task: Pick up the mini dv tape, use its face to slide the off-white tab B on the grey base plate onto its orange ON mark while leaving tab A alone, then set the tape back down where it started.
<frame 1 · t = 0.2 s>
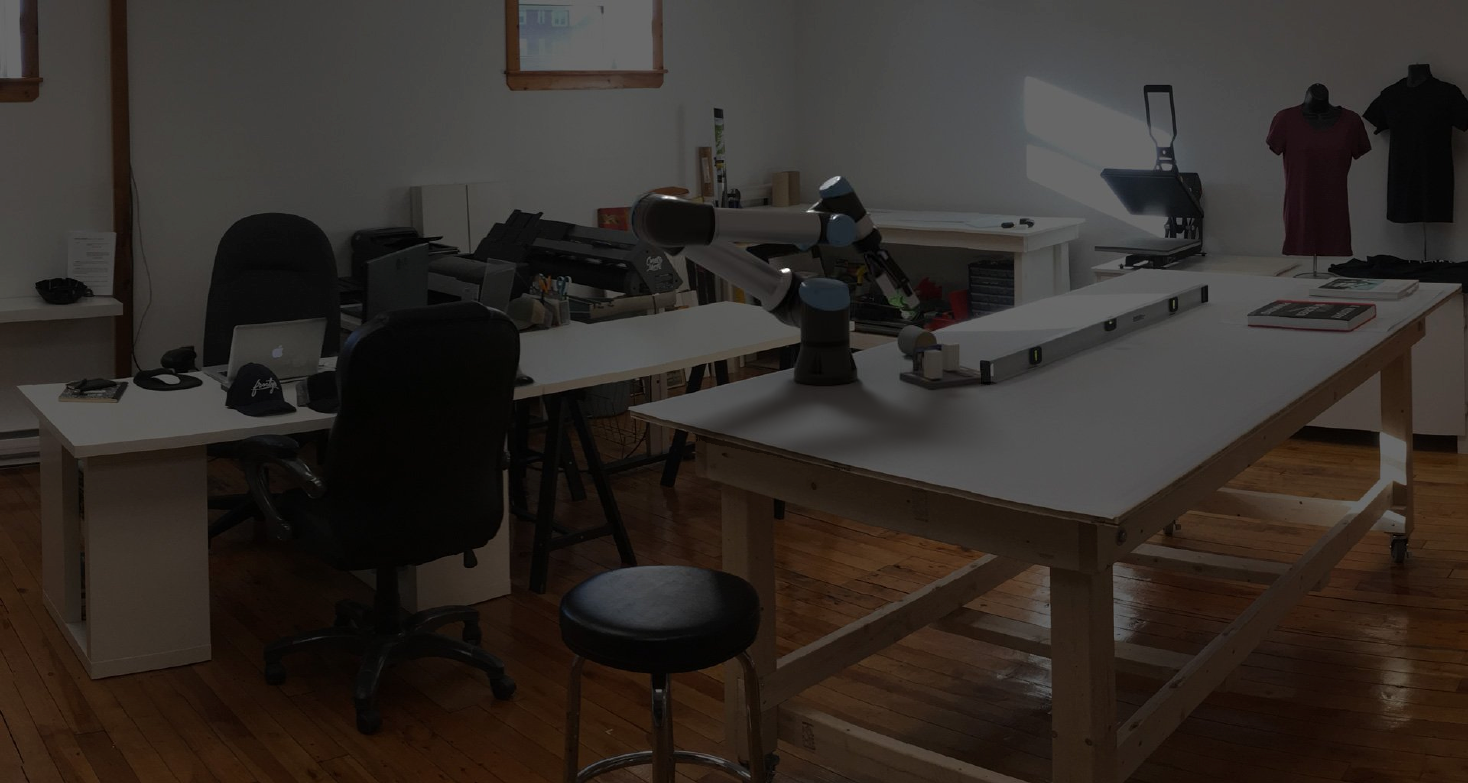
hand: (903, 300, 326), 15 cm above the table, tool tilted 35°, fingers open, 13 cm apart
mini dv tape: (927, 371, 314), on the table
tab a: (933, 364, 295), point 5 cm above the table, slide at 6.0 cm
grey base plate: (946, 380, 301), on the table
ceramic mug: (921, 356, 333), on the table
tab b: (950, 356, 304), point 5 cm above the table, slide at 0.0 cm
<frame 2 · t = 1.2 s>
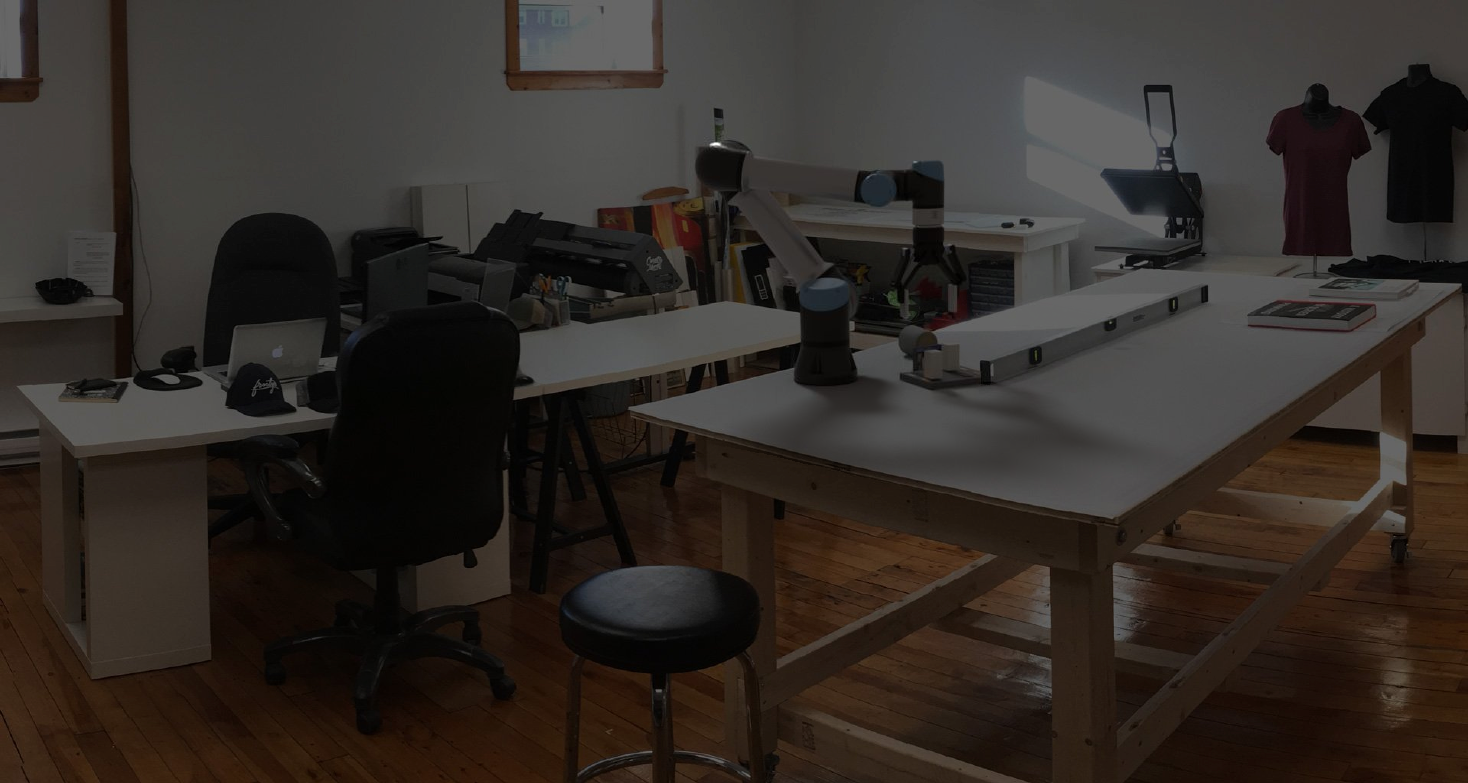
hand: (928, 314, 311), 14 cm above the table, tool pointing down, fingers open, 13 cm apart
nothing on the table moved.
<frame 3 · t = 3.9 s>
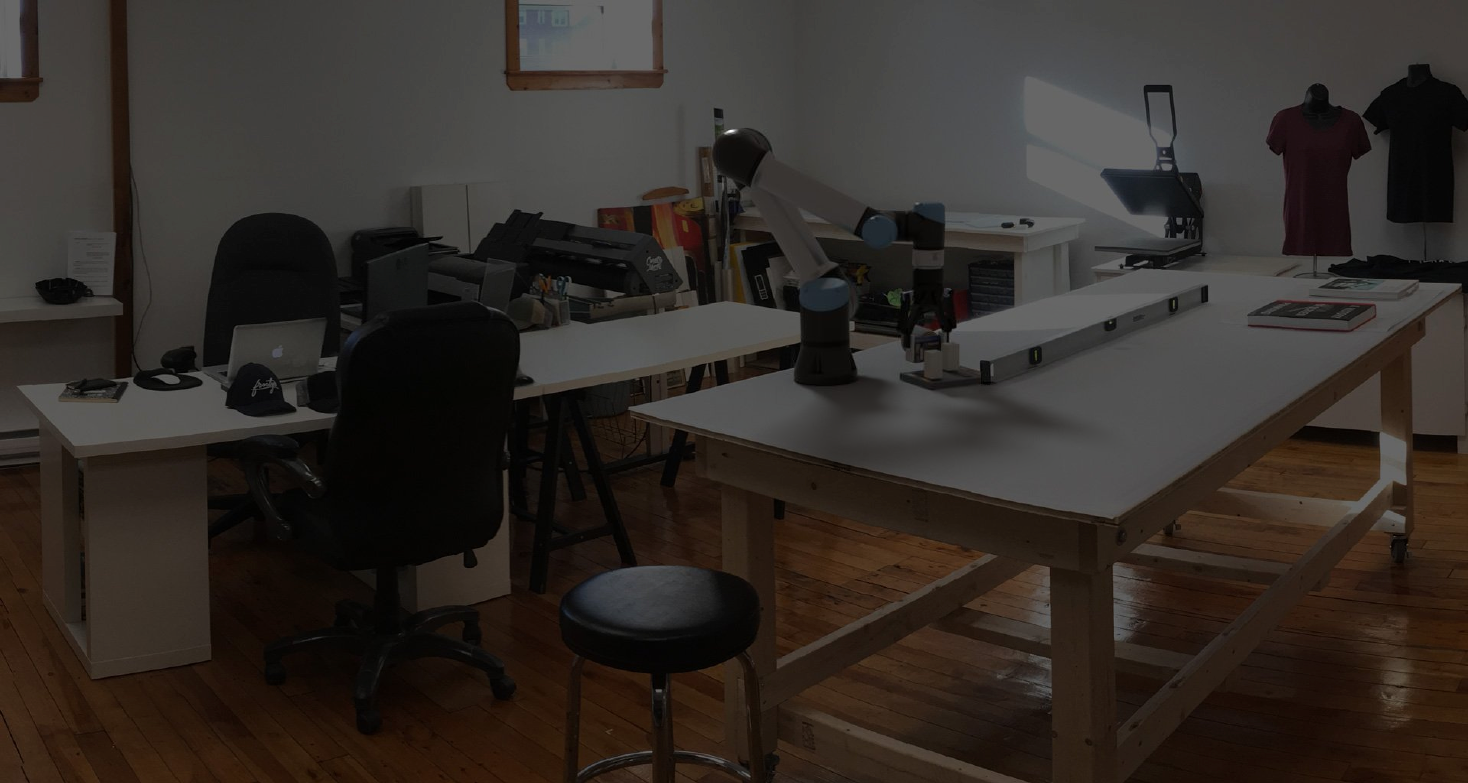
hand: (925, 359, 314), 3 cm above the table, tool pointing down, fingers closed on mini dv tape, 8 cm apart
mini dv tape: (925, 361, 314), point 2 cm above the table, touching gripper
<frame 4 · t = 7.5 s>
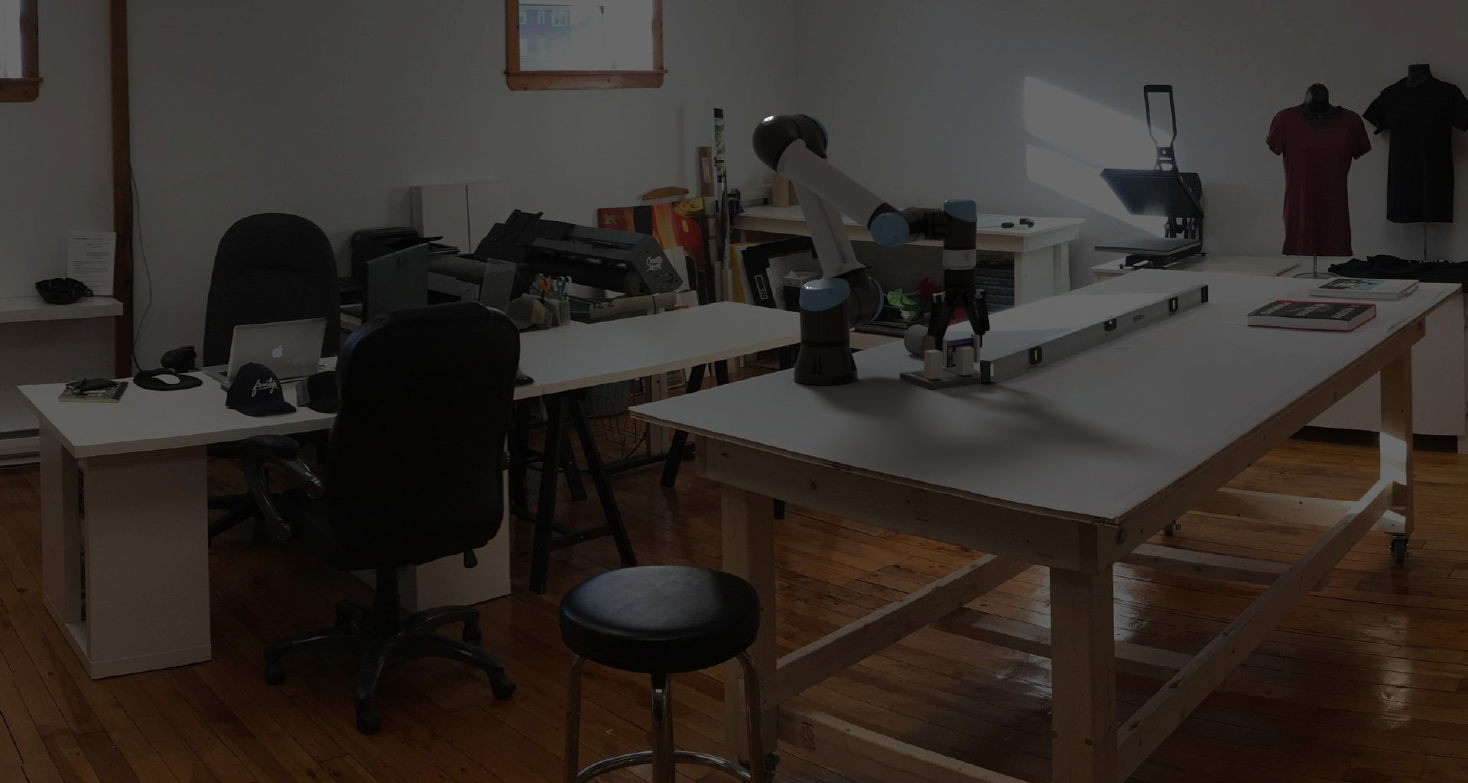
hand: (958, 363, 301), 4 cm above the table, tool pointing down, fingers closed on mini dv tape, 8 cm apart
mini dv tape: (958, 366, 301), point 3 cm above the table, touching gripper
tab b: (964, 360, 299), point 5 cm above the table, slide at 6.0 cm
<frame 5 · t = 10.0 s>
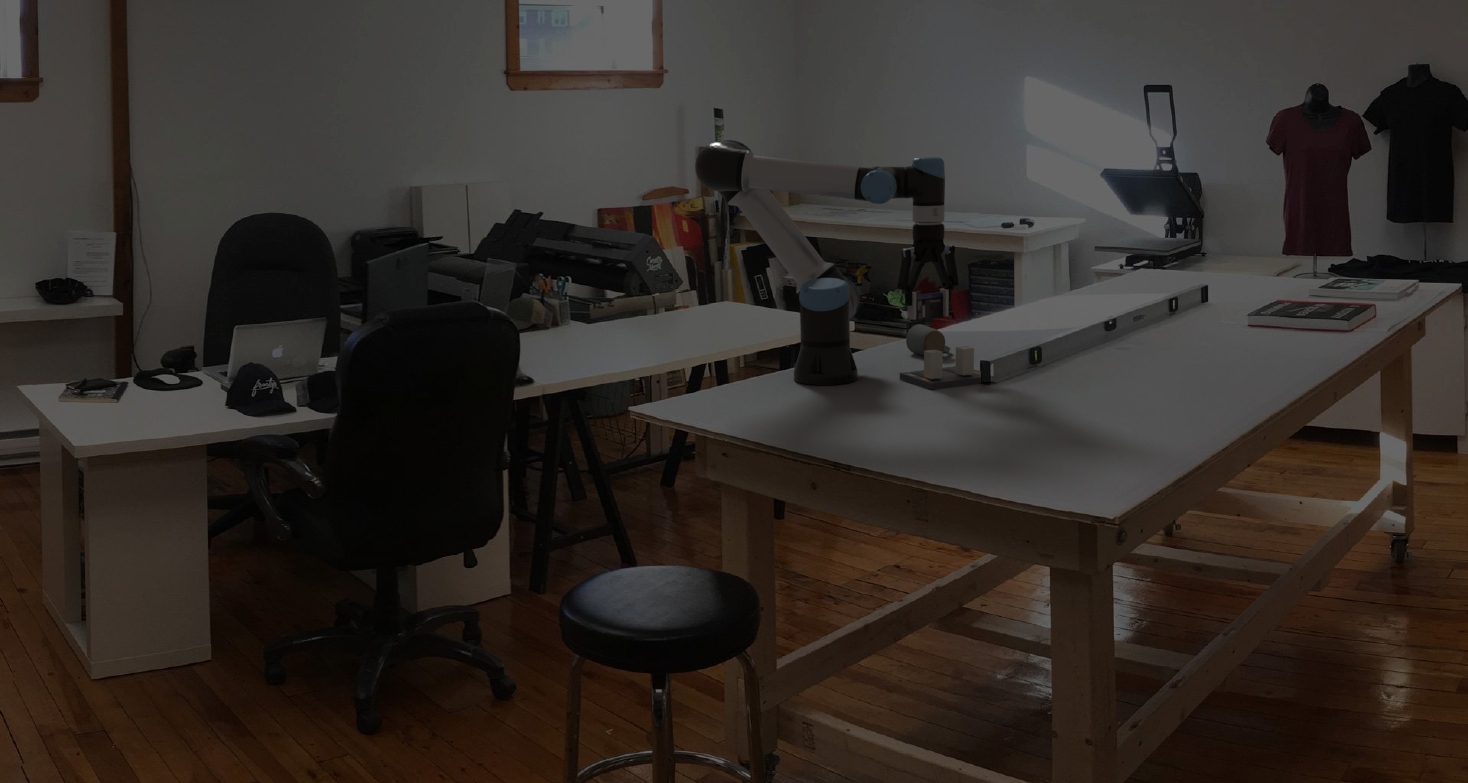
hand: (928, 317, 311), 13 cm above the table, tool pointing down, fingers closed on mini dv tape, 8 cm apart
mini dv tape: (928, 319, 311), point 12 cm above the table, touching gripper
when the fingers open (0 cm above the table, at t = 12.3 s): mini dv tape stays where it is, on the table.
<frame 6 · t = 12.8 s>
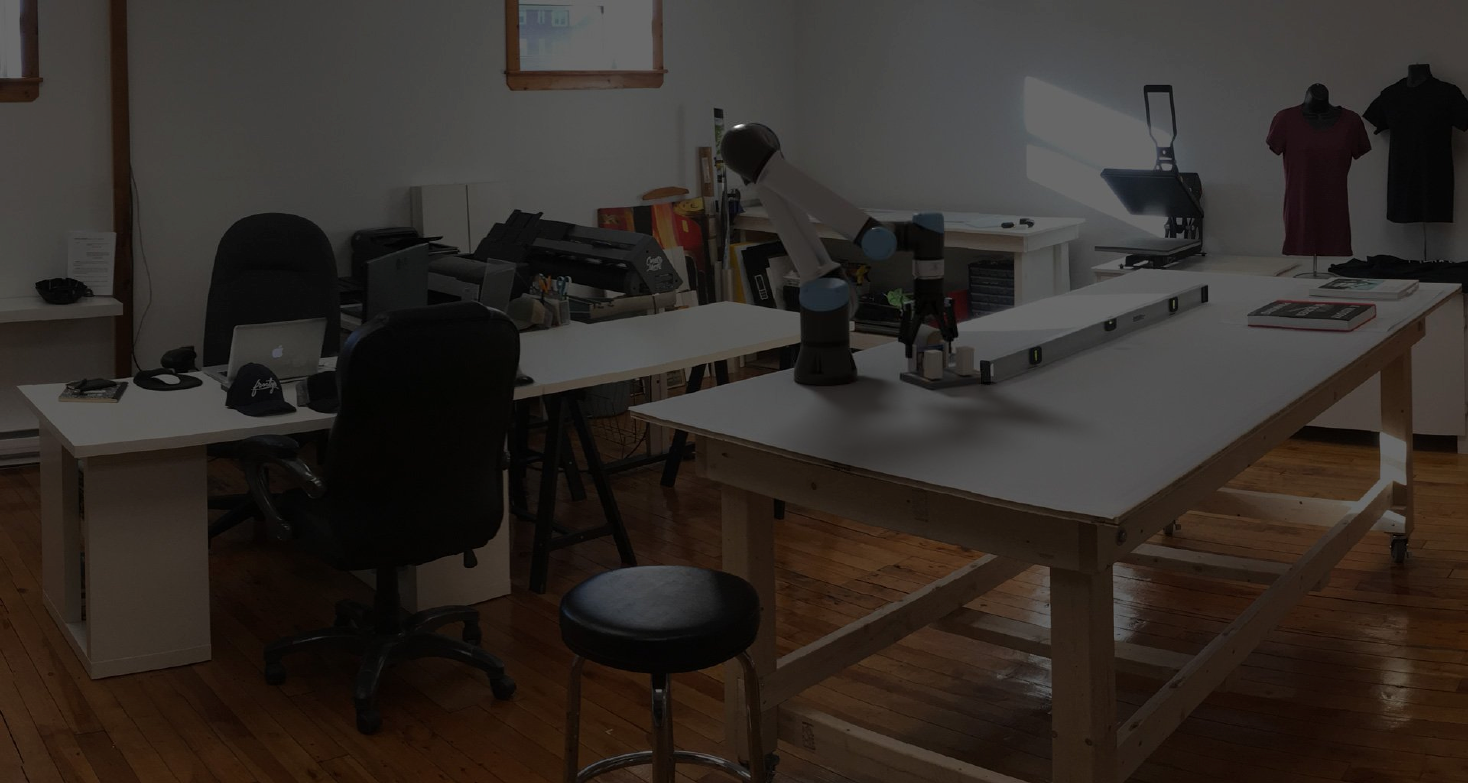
hand: (928, 369, 314), 0 cm above the table, tool pointing down, fingers open, 8 cm apart
mini dv tape: (928, 371, 314), on the table
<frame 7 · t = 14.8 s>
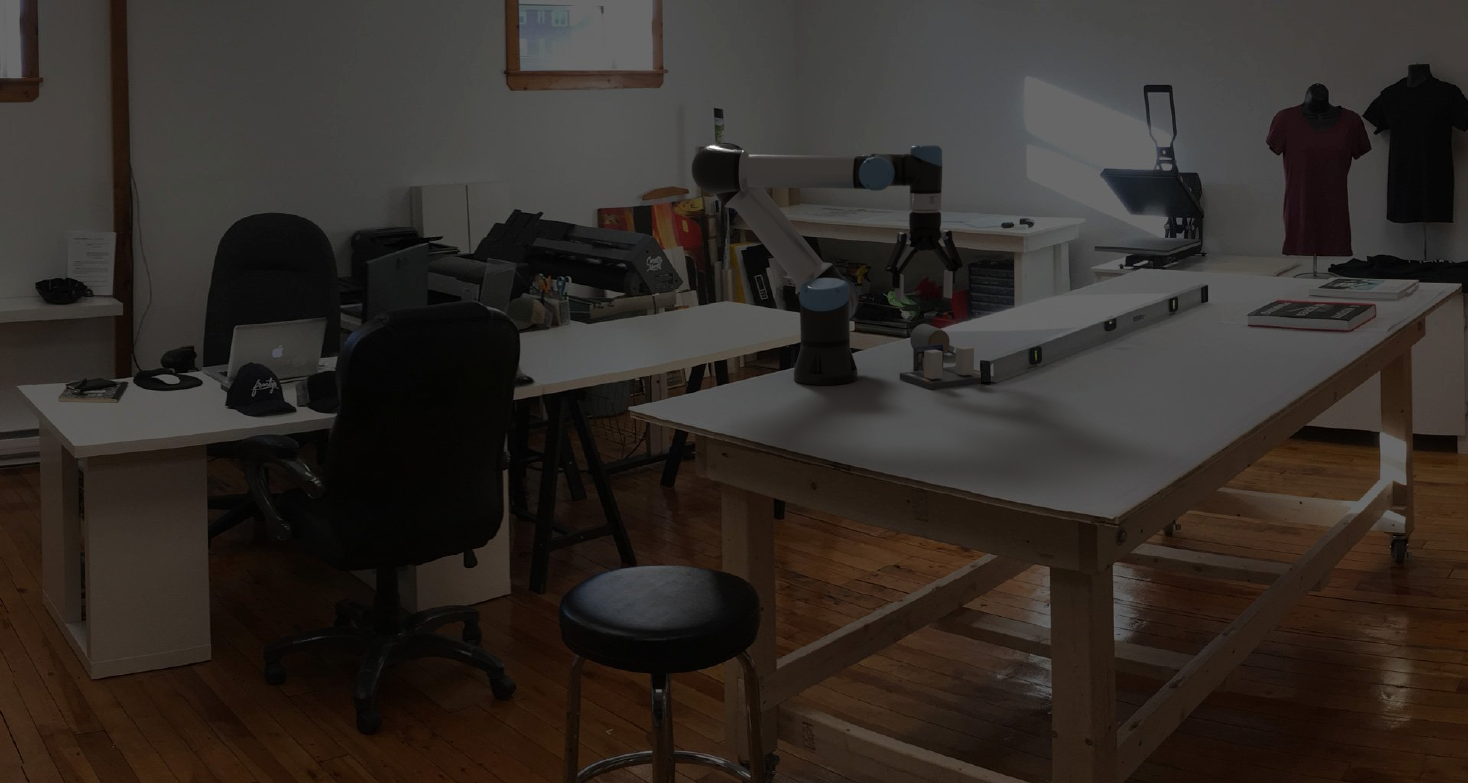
hand: (923, 299, 311), 17 cm above the table, tool pointing down, fingers open, 13 cm apart
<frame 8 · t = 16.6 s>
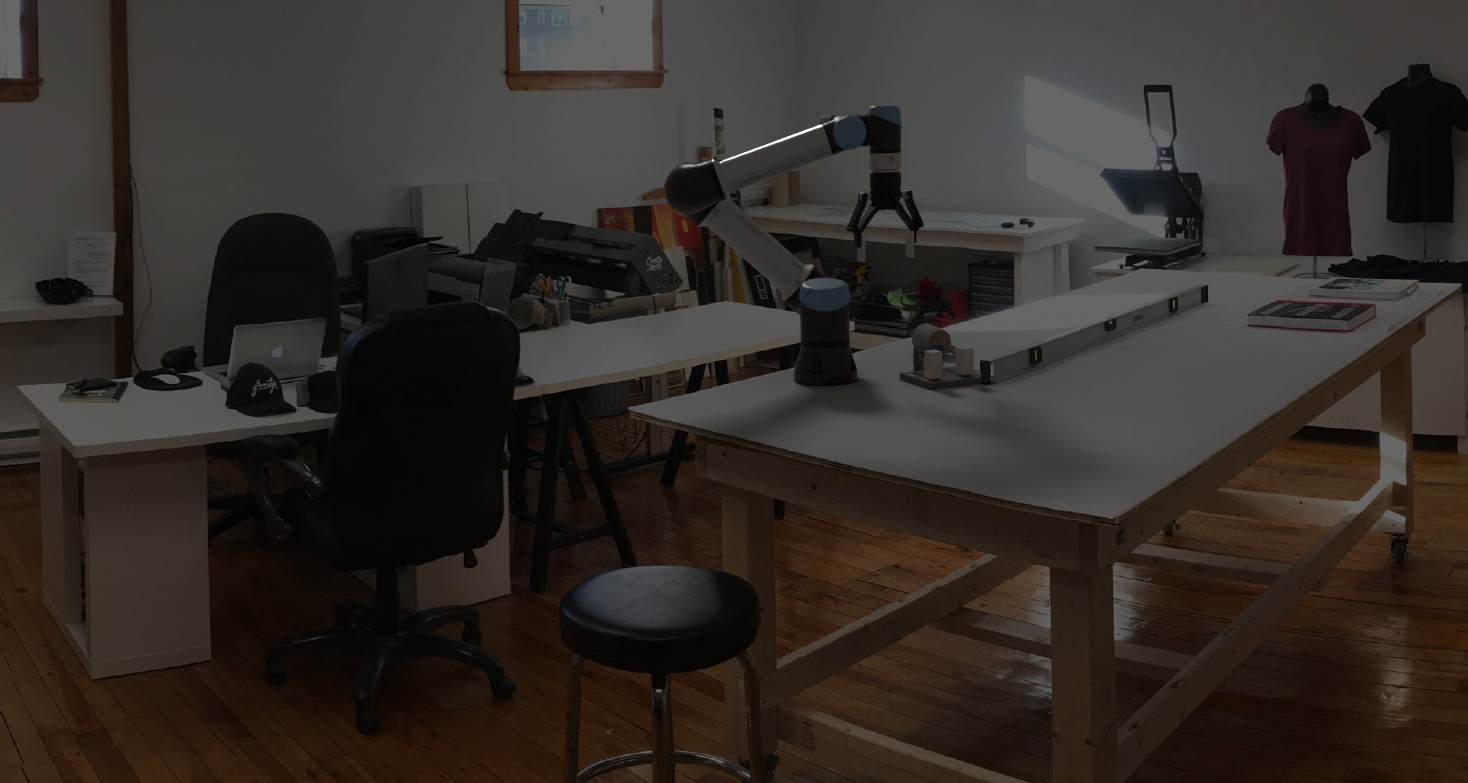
hand: (885, 259, 314), 27 cm above the table, tool pointing down, fingers open, 13 cm apart
at the end: tab b slide at 6.0 cm; tab a slide at 6.0 cm; mini dv tape inside the target area (0.1 cm from its centre), on the table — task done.
